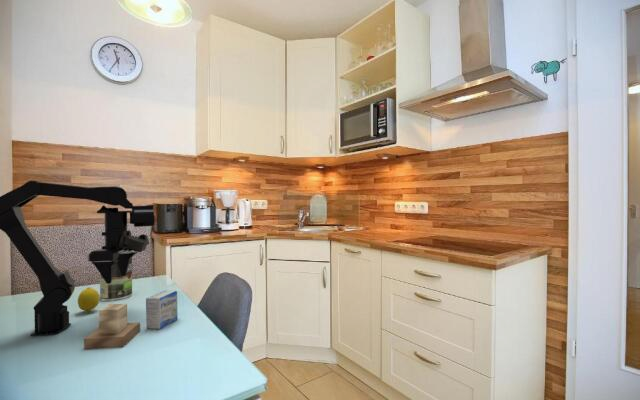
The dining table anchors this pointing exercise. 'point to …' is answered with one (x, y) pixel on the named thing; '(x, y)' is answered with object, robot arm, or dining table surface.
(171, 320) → the medicine box
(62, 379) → the dining table surface
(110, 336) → the walnut block
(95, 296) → the lemon
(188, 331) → the dining table surface
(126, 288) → the coffee can
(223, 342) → the dining table surface
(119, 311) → the birch block
